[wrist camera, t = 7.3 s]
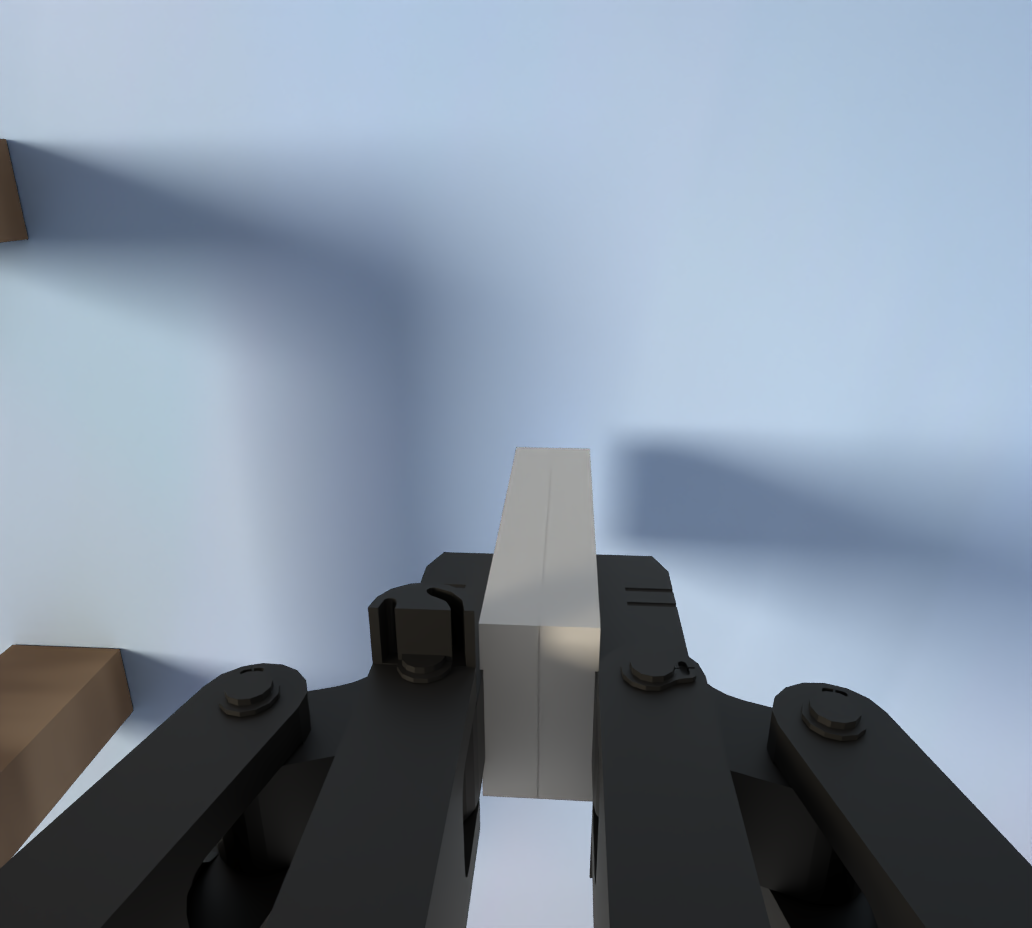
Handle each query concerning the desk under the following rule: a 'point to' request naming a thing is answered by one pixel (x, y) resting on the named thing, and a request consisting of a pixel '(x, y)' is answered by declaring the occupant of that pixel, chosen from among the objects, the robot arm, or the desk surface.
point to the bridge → (48, 682)
